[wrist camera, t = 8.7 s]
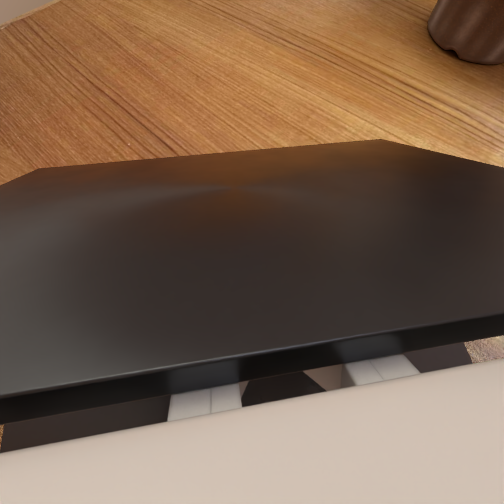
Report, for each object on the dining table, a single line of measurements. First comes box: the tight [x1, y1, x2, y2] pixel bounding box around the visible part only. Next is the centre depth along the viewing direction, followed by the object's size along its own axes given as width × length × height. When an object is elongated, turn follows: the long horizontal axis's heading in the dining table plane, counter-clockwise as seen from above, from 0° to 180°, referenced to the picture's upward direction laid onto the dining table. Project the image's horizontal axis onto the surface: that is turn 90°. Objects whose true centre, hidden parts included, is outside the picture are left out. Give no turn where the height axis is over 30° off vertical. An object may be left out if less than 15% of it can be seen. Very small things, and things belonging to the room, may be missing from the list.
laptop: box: [0, 342, 473, 453], centre depth 21 cm, size 22×30×2 cm
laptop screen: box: [0, 139, 504, 425], centre depth 15 cm, size 22×30×1 cm
